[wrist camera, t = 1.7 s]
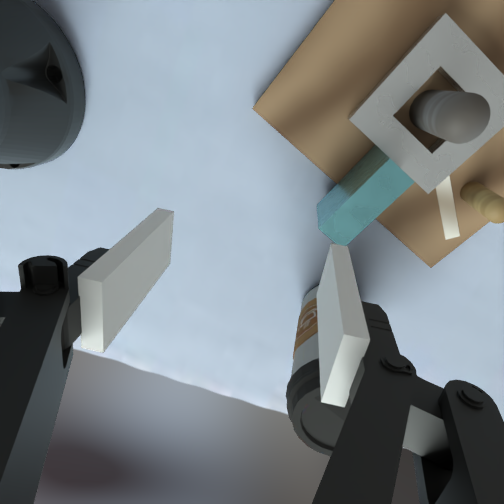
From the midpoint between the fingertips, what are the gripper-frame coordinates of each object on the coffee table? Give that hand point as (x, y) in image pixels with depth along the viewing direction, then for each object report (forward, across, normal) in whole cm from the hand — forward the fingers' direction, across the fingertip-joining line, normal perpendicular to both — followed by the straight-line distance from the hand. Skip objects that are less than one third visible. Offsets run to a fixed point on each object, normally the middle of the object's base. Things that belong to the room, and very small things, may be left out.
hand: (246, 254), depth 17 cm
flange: (+18, +9, +4) cm, 20 cm away
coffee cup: (+19, +8, -14) cm, 25 cm away
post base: (+19, +11, +7) cm, 23 cm away
